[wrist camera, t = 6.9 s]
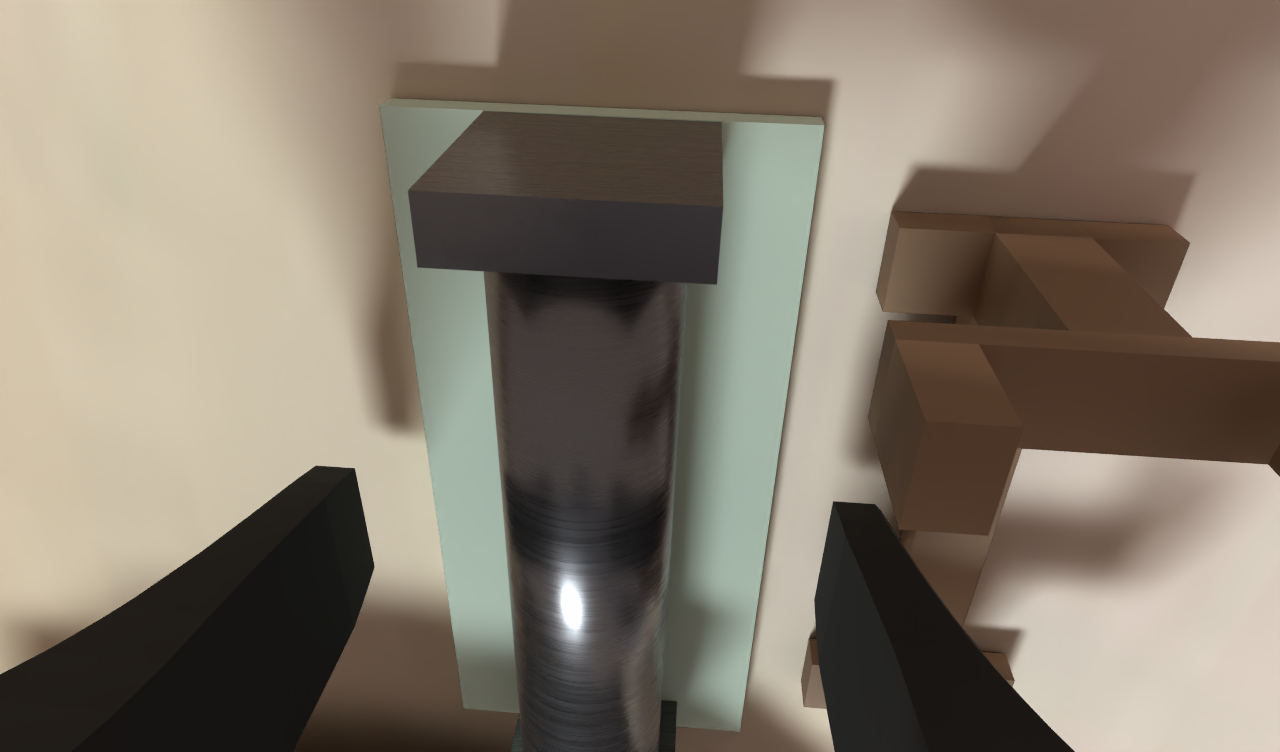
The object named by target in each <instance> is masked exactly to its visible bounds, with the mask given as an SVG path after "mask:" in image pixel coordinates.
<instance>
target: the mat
mask: <svg viewBox="0 0 1280 752" xmlns="http://www.w3.org/2000/svg"><path fill="white" fill-rule="evenodd" d="M379 108H380V115H381V122H382V130H383V137H384V144H385V151H386V158H387V165H388V172H389V180H390V187H391V194H392V201H393V208H394V215H395V222H396V230H397V237H398V244H399V251H400V258H401V265H402V273H403V280H404V287H405V294H406V301H407V308H408V315H409V323H410V330H411V337H412V344H413V351H414V358H415V365H416V373H417V380H418V387H419V394H420V401H421V408H422V415H423V423H424V430H425V437H426V444H427V451H428V458H429V466H430V473H431V480H432V487H433V494H434V501H435V508H436V516H437V523H438V530H439V537H440V544H441V551H442V558H443V566H444V573H445V580H446V587H447V594H448V601H449V608H450V616H451V623H452V630H453V637H454V644H455V651H456V658H457V666H458V673H459V680H460V687H461V694H462V701H463V709H474V710H486V711H498V712H509V713H519V703H518V691H517V679H516V666H515V654H514V642H513V629H512V617H511V605H510V592H509V580H508V568H507V555H506V543H505V531H504V518H503V506H502V493H501V481H500V469H499V456H498V444H497V432H496V419H495V407H494V395H493V382H492V370H491V358H490V345H489V333H488V321H487V308H486V296H485V284H484V271H468V270H450V269H433V268H417V260H416V252H415V244H414V236H413V228H412V220H411V213H410V205H409V197H408V190H409V189H410V188H411V186H412V185H413V184H414V183H415V182H416V181H417V180H418V179H419V178H420V177H421V176H422V175H423V174H424V173H425V172H426V171H427V170H428V169H429V168H430V166H431V165H432V164H433V163H434V162H435V161H436V160H437V159H438V158H439V157H440V156H441V155H442V154H443V153H444V152H445V151H446V150H447V149H448V148H449V146H450V145H451V144H452V143H453V142H454V141H455V140H456V139H457V138H458V137H459V136H460V135H461V134H462V133H463V132H464V131H465V130H466V129H467V128H468V126H469V125H470V124H471V123H472V122H473V121H474V120H475V119H476V118H477V117H478V116H479V115H480V114H481V113H482V112H483V111H493V112H515V113H536V114H557V115H579V116H600V117H622V118H643V119H664V120H686V121H707V122H722V163H723V217H722V229H721V242H720V254H719V266H718V278H717V285H712V284H695V283H687V293H686V309H685V325H684V342H683V358H682V374H681V391H680V407H679V423H678V439H677V456H676V472H675V488H674V505H673V521H672V537H671V554H670V570H669V586H668V603H667V619H666V635H665V651H664V668H663V684H662V700H666V701H677V715H676V727H687V728H699V729H710V730H722V731H734V732H740V726H741V719H742V712H743V705H744V698H745V691H746V683H747V676H748V669H749V662H750V655H751V648H752V641H753V633H754V626H755V619H756V612H757V605H758V598H759V591H760V583H761V576H762V569H763V562H764V555H765V548H766V541H767V533H768V526H769V519H770V512H771V505H772V498H773V490H774V483H775V476H776V469H777V462H778V455H779V448H780V440H781V433H782V426H783V419H784V412H785V405H786V398H787V390H788V383H789V376H790V369H791V362H792V355H793V347H794V340H795V333H796V326H797V319H798V312H799V305H800V297H801V290H802V283H803V276H804V269H805V262H806V255H807V247H808V240H809V233H810V226H811V219H812V212H813V204H814V197H815V190H816V183H817V176H818V169H819V162H820V154H821V147H822V140H823V133H824V126H825V125H824V123H823V121H822V118H821V117H807V116H784V115H761V114H739V113H716V112H693V111H670V110H647V109H625V108H602V107H579V106H556V105H534V104H511V103H488V102H465V101H442V100H420V99H397V98H389V99H388V100H387V101H385V102H384V103H382V104H381V105H379Z"/></svg>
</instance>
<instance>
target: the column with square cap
mask: <svg viewBox="0 0 1280 752" xmlns="http://www.w3.org/2000/svg"><path fill="white" fill-rule="evenodd" d="M408 197H409V205H410V213H411V220H412V228H413V236H414V244H415V252H416V260H417V268H433V269H450V270H468V271H484V284H485V296H486V308H487V321H488V333H489V345H490V358H491V370H492V382H493V395H494V407H495V419H496V432H497V444H498V456H499V469H500V481H501V493H502V506H503V518H504V531H505V543H506V555H507V568H508V580H509V592H510V605H511V617H512V629H513V642H514V654H515V666H516V679H517V691H518V703H519V718H518V723H517V727H516V731H515V735H514V740H513V744H512V748H511V752H675V736H676V715H677V701H666V700H662V684H663V668H664V651H665V635H666V619H667V603H668V586H669V570H670V554H671V537H672V521H673V505H674V488H675V472H676V456H677V439H678V423H679V407H680V391H681V374H682V358H683V342H684V325H685V309H686V293H687V283H695V284H712V285H717V278H718V266H719V254H720V242H721V229H722V217H723V163H722V122H707V121H686V120H664V119H643V118H622V117H600V116H579V115H557V114H536V113H515V112H493V111H483V112H482V113H481V114H480V115H479V116H478V117H477V118H476V119H475V120H474V121H473V122H472V123H471V124H470V125H469V126H468V128H467V129H466V130H465V131H464V132H463V133H462V134H461V135H460V136H459V137H458V138H457V139H456V140H455V141H454V142H453V143H452V144H451V145H450V146H449V148H448V149H447V150H446V151H445V152H444V153H443V154H442V155H441V156H440V157H439V158H438V159H437V160H436V161H435V162H434V163H433V164H432V165H431V166H430V168H429V169H428V170H427V171H426V172H425V173H424V174H423V175H422V176H421V177H420V178H419V179H418V180H417V181H416V182H415V183H414V184H413V185H412V186H411V188H410V189H409V190H408Z"/></svg>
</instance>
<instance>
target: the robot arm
mask: <svg viewBox="0 0 1280 752" xmlns="http://www.w3.org/2000/svg"><path fill="white" fill-rule="evenodd" d="M373 570H374V562H373V557H372V552H371V547H370V542H369V537H368V532H367V527H366V522H365V517H364V512H363V507H362V502H361V497H360V492H359V487H358V482H357V477H356V472H355V468H341V467H327V466H315V467H313V468H312V469H311V470H309V471H308V472H306V473H305V474H304V475H302V476H301V477H300V478H298V479H297V480H296V481H294V482H293V483H292V484H290V485H289V486H288V487H286V488H285V489H284V490H282V491H281V492H280V493H278V494H277V495H276V496H275V497H273V498H272V499H271V500H269V501H268V502H267V503H265V504H264V505H263V506H262V507H260V508H259V509H258V510H256V511H255V512H254V513H252V514H251V515H250V516H249V517H247V518H246V519H245V520H243V521H242V522H241V523H239V524H238V525H237V526H235V527H234V528H233V529H231V530H230V531H229V532H227V533H226V534H225V535H223V536H222V537H221V538H219V539H218V540H217V541H215V542H214V543H213V544H211V545H210V546H209V547H207V548H206V549H204V550H203V551H202V552H200V553H199V554H198V555H196V556H195V557H193V558H192V559H190V560H189V561H187V562H186V563H184V564H183V565H182V566H180V567H179V568H177V569H176V570H174V571H173V572H171V573H170V574H169V575H167V576H166V577H164V578H163V579H161V580H160V581H158V582H157V583H155V584H154V585H153V586H151V587H150V588H148V589H147V590H145V591H144V592H142V593H141V594H139V595H138V596H137V597H135V598H133V599H132V600H130V601H129V602H127V603H126V604H124V605H123V606H121V607H119V608H118V609H116V610H115V611H113V612H111V613H110V614H108V615H106V616H105V617H103V618H102V619H100V620H98V621H97V622H95V623H93V624H91V625H90V626H88V627H86V628H85V629H83V630H81V631H80V632H78V633H76V634H74V635H73V636H71V637H69V638H68V639H66V640H64V641H63V642H61V643H59V644H57V645H55V646H54V647H52V648H50V649H48V650H46V651H45V652H43V653H41V654H39V655H37V656H35V657H33V658H31V659H29V660H27V661H25V662H23V663H22V664H20V665H18V666H16V667H14V668H12V669H10V670H8V671H6V672H4V673H2V674H0V752H293V750H294V748H295V746H296V744H297V742H298V740H299V738H300V736H301V734H302V732H303V730H304V728H305V726H306V724H307V722H308V720H309V718H310V716H311V714H312V712H313V710H314V708H315V706H316V704H317V702H318V700H319V698H320V696H321V694H322V692H323V690H324V688H325V686H326V684H327V682H328V680H329V678H330V676H331V674H332V672H333V670H334V668H335V666H336V664H337V662H338V660H339V658H340V656H341V654H342V651H343V649H344V647H345V645H346V643H347V641H348V639H349V637H350V635H351V633H352V631H353V629H354V626H355V623H356V620H357V618H358V615H359V612H360V609H361V606H362V604H363V601H364V598H365V595H366V592H367V589H368V586H369V582H370V579H371V576H372V573H373ZM814 601H815V618H816V634H817V648H818V661H819V669H820V674H821V680H822V686H823V691H824V696H825V702H826V707H827V713H828V718H829V723H830V729H831V734H832V739H833V745H834V750H835V752H1075V751H1074V750H1073V749H1072V748H1071V747H1069V746H1068V745H1067V744H1066V743H1065V742H1064V741H1063V740H1062V739H1061V738H1060V737H1059V736H1058V735H1057V734H1056V733H1055V732H1054V731H1053V730H1052V729H1051V728H1050V727H1049V726H1048V725H1047V724H1046V723H1045V722H1044V721H1043V719H1042V718H1041V717H1040V716H1039V715H1038V714H1037V713H1036V712H1035V711H1034V710H1033V709H1032V708H1031V707H1030V706H1029V705H1028V704H1027V703H1026V702H1025V701H1024V700H1023V698H1022V697H1021V696H1020V695H1019V694H1018V693H1017V692H1016V691H1015V690H1014V689H1013V687H1012V686H1011V685H1010V684H1009V683H1008V682H1007V681H1006V679H1005V678H1004V677H1003V676H1002V675H1001V674H1000V673H999V671H998V670H997V669H996V668H995V667H994V666H993V664H992V663H991V662H990V661H989V660H988V658H987V657H986V656H985V655H984V654H983V652H982V651H981V650H980V649H979V648H978V646H977V645H976V644H975V643H974V642H973V640H972V639H971V638H970V636H969V635H968V634H967V633H966V631H965V630H964V629H963V628H962V626H961V625H960V624H959V623H958V621H957V620H956V619H955V617H954V616H953V615H952V613H951V612H950V610H949V609H948V608H947V606H946V605H945V604H944V602H943V601H942V600H941V598H940V597H939V596H938V594H937V593H936V592H935V590H934V589H933V588H932V586H931V585H930V583H929V582H928V581H927V579H926V578H925V576H924V575H923V574H922V572H921V571H920V569H919V568H918V566H917V565H916V563H915V562H914V561H913V559H912V558H911V556H910V555H909V553H908V552H907V550H906V549H905V547H904V546H903V544H902V543H901V541H900V540H899V538H898V537H897V535H896V533H895V532H894V530H893V529H892V527H891V526H890V524H889V523H888V521H887V519H886V518H885V516H884V515H883V513H882V512H881V510H880V509H879V508H878V507H877V506H876V505H875V504H863V503H848V502H834V501H833V505H832V511H831V516H830V521H829V526H828V532H827V537H826V542H825V547H824V553H823V558H822V563H821V568H820V574H819V579H818V584H817V589H816V595H815V600H814Z"/></svg>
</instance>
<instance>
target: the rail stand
mask: <svg viewBox="0 0 1280 752" xmlns="http://www.w3.org/2000/svg"><path fill="white" fill-rule="evenodd" d="M1189 245H1190V242H1188V241H1187V240H1186V239H1185V238H1183V237H1182V236H1181V235H1180V234H1178V233H1177V232H1176V231H1175V230H1173V229H1172V228H1171V227H1170V226H1168V225H1152V224H1132V223H1112V222H1092V221H1072V220H1052V219H1032V218H1012V217H992V216H972V215H952V214H932V213H912V212H892V211H891V216H890V221H889V226H888V231H887V237H886V242H885V247H884V252H883V257H882V263H881V268H880V273H879V278H878V283H877V288H876V294H877V297H878V300H879V302H880V305H881V308H882V310H883V312H899V313H916V314H934V315H952V316H957V318H956V322H955V324H945V323H927V322H910V321H892V320H888V322H887V327H886V332H885V337H884V342H883V347H882V352H881V357H880V361H879V366H878V371H877V376H876V381H875V386H874V391H873V395H872V400H871V405H870V410H869V415H868V419H869V423H870V426H871V430H872V434H873V437H874V441H875V445H876V448H877V452H878V456H879V459H880V463H881V467H882V470H883V474H884V477H885V481H886V485H887V488H888V492H889V496H890V499H891V503H892V507H893V510H894V514H895V518H896V521H897V525H898V529H899V530H903V531H902V535H901V538H900V541H901V543H902V544H903V546H904V547H905V549H906V550H907V552H908V553H909V555H910V556H911V558H912V559H913V561H914V562H915V563H916V565H917V566H918V568H919V569H920V571H921V572H922V574H923V575H924V576H925V578H926V579H927V581H928V582H929V583H930V585H931V586H932V588H933V589H934V590H935V592H936V593H937V594H938V596H939V597H940V598H941V600H942V601H943V602H944V604H945V605H946V606H947V608H948V609H949V610H950V612H951V613H952V615H953V616H954V617H955V619H956V620H957V621H958V623H959V624H960V625H961V626H962V628H963V625H964V622H965V619H966V616H967V613H968V610H969V607H970V604H971V601H972V598H973V595H974V592H975V589H976V586H977V583H978V580H979V577H980V574H981V571H982V568H983V565H984V562H985V559H986V556H987V553H988V550H989V547H990V544H991V541H992V538H993V535H994V532H995V528H996V525H997V522H998V519H999V516H1000V513H1001V510H1002V507H1003V504H1004V501H1005V498H1006V495H1007V492H1008V489H1009V486H1010V483H1011V480H1012V477H1013V474H1014V471H1015V468H1016V465H1017V462H1018V459H1019V456H1020V453H1021V450H1022V448H1023V449H1038V450H1054V451H1069V452H1085V453H1100V454H1115V455H1131V456H1146V457H1162V458H1177V459H1193V460H1208V461H1224V462H1239V463H1254V464H1268V465H1269V466H1270V467H1271V468H1272V469H1273V470H1274V471H1275V472H1276V473H1277V474H1278V475H1279V477H1280V343H1279V342H1261V341H1244V340H1226V339H1208V338H1193V337H1191V336H1190V335H1189V334H1188V333H1187V332H1186V331H1185V330H1184V329H1183V328H1182V327H1181V326H1180V325H1179V324H1178V323H1177V322H1176V321H1175V320H1174V319H1173V318H1172V317H1171V316H1170V315H1169V314H1168V313H1167V312H1166V311H1165V310H1164V307H1165V305H1166V302H1167V300H1168V297H1169V295H1170V292H1171V290H1172V287H1173V285H1174V282H1175V280H1176V277H1177V275H1178V272H1179V270H1180V267H1181V265H1182V262H1183V260H1184V257H1185V255H1186V252H1187V250H1188V247H1189ZM983 654H984V655H985V656H986V657H987V658H988V660H989V661H990V662H991V663H992V664H993V666H994V667H995V668H996V669H997V670H998V671H999V673H1000V674H1001V675H1002V676H1003V677H1004V678H1005V679H1006V681H1007V682H1008V683H1009V684H1010V685H1011V686H1013V684H1014V681H1015V680H1014V678H1013V675H1012V672H1011V669H1010V667H1009V664H1008V661H1007V658H1006V656H1005V654H1002V653H989V652H983ZM801 685H802V694H803V704H804V707H812V708H824V709H827V707H826V702H825V696H824V691H823V686H822V680H821V674H820V669H819V661H818V648H817V639H810V638H809V642H808V647H807V652H806V657H805V662H804V668H803V673H802V678H801Z"/></svg>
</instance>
